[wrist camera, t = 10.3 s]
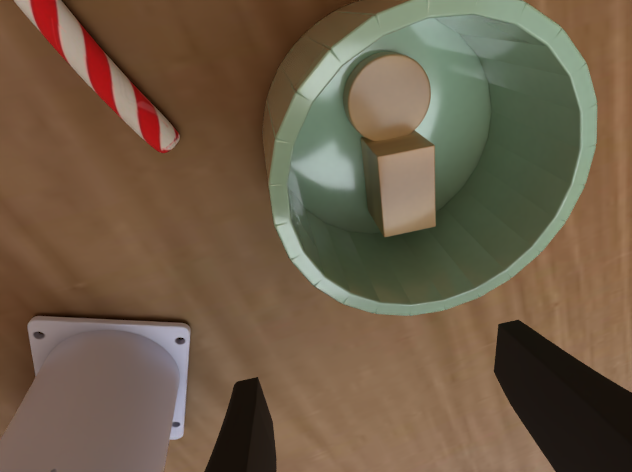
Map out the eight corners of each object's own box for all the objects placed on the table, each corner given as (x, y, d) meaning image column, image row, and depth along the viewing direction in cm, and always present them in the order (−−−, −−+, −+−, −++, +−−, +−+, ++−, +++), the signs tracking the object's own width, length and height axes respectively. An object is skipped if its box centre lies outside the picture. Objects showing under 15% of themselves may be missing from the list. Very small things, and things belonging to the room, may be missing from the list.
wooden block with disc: (425, 198, 21) (449, 224, 18) (356, 213, 21) (370, 240, 18) (421, 43, 17) (450, 50, 15) (337, 59, 17) (352, 69, 15)
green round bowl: (449, 245, 23) (514, 322, 18) (248, 225, 21) (250, 307, 15) (534, 26, 18) (664, 36, 13) (282, -35, 16) (303, -56, 10)
